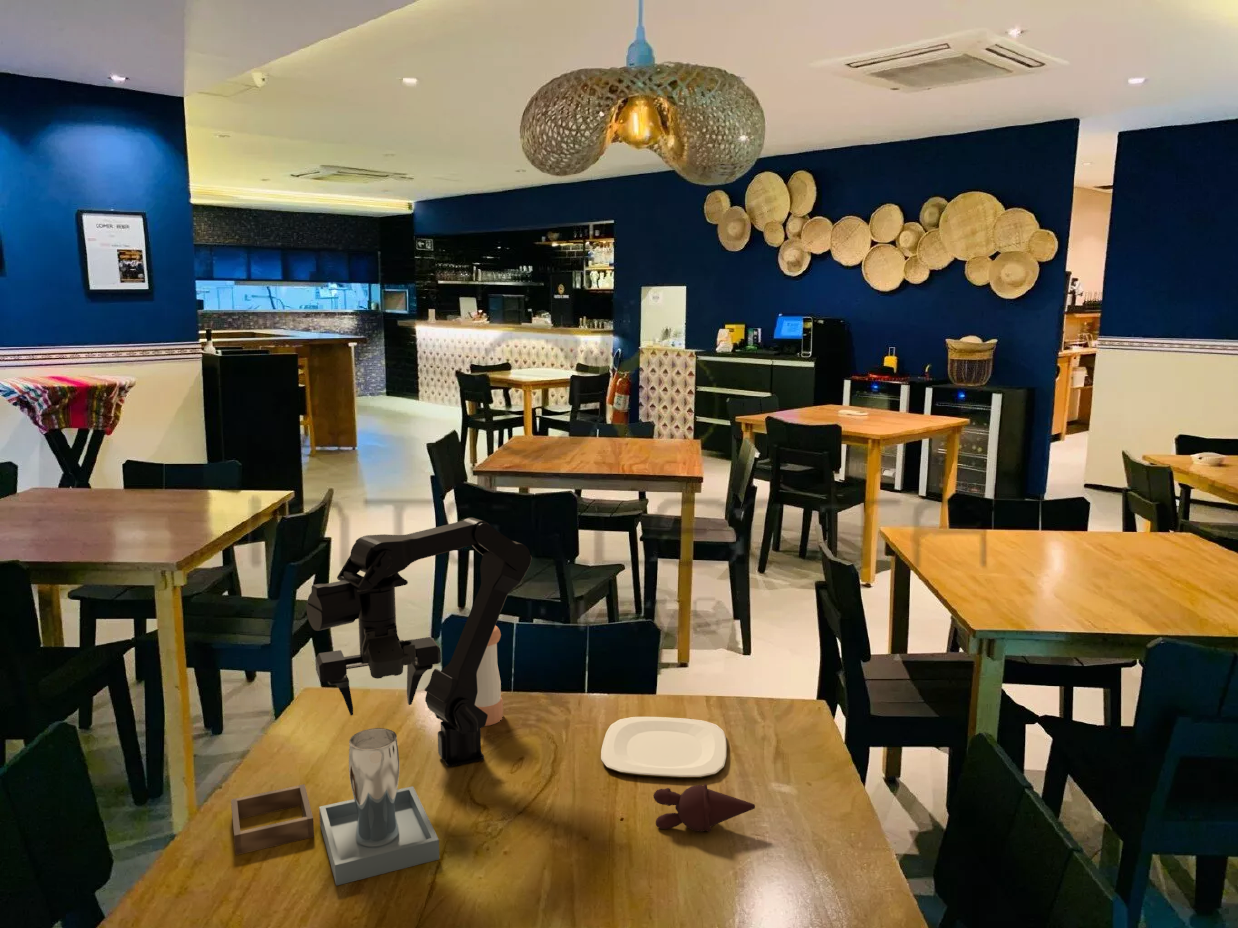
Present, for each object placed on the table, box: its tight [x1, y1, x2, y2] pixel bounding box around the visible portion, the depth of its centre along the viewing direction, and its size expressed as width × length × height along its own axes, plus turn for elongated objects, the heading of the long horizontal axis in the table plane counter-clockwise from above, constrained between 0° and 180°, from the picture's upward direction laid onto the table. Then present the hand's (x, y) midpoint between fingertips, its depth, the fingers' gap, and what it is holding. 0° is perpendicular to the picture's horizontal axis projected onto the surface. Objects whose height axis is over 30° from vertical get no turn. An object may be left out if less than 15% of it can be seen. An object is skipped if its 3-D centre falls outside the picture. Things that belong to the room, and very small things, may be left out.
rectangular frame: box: [230, 784, 315, 856], centre depth 133 cm, size 11×11×3 cm
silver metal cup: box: [348, 727, 400, 847], centre depth 129 cm, size 7×7×15 cm
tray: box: [318, 785, 440, 887], centre depth 130 cm, size 14×16×3 cm
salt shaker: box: [475, 625, 504, 727], centre depth 169 cm, size 7×7×19 cm
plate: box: [600, 716, 727, 779], centre depth 158 cm, size 22×22×2 cm
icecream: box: [653, 783, 756, 833], centre depth 133 cm, size 7×7×15 cm
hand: (380, 709), depth 144 cm, fingers open, 9 cm apart
